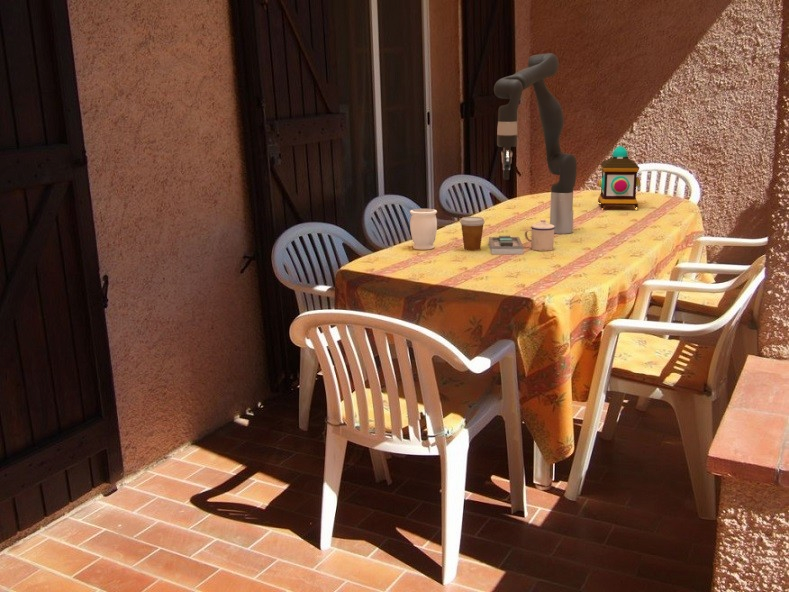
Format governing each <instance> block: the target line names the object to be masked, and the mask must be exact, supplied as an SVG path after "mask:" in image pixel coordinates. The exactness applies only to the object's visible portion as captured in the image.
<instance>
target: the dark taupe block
mask: <svg viewBox="0 0 789 592" xmlns="http://www.w3.org/2000/svg"><path fill="white" fill-rule="evenodd" d="M501 246H513V242H512V241H501Z"/></svg>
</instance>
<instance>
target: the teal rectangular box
mask: <svg viewBox="0 0 789 592" xmlns="http://www.w3.org/2000/svg"><path fill="white" fill-rule="evenodd" d="M501 241H512V239H511V238H500V244H501Z"/></svg>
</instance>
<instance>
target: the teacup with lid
mask: <svg viewBox="0 0 789 592" xmlns="http://www.w3.org/2000/svg"><path fill="white" fill-rule="evenodd" d="M554 229H555V227H554V225H552V224H550V222H548V221H547V220H546V218H542V219H540V221H538V222H536V223H534V224H532V225H531V226H530V228H529V229H526V230H525V231H524V237H525V240H526V241H527V242H529V243H530V249H531V250H533V251H537V250H539V251H538V252H548V251H547V250H549V251H552V250H554V246H555V245H554V244H555V241H554V240H555V233H554ZM528 232H531V236H530V238H531V239H530V238H529V237H528Z"/></svg>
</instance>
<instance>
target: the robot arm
mask: <svg viewBox="0 0 789 592" xmlns="http://www.w3.org/2000/svg"><path fill="white" fill-rule="evenodd" d="M559 62H560V61H559V59H558V57H557V56H556V55H555V54H554V53H551V52H549V53H540V54H534V55H531V56H530V57H529V58H528V60H527V67H524V68H523V69H521V70H519V71H517V72H515V73H514V74H512V75H511V74H510V75H508V76H505V77H502V78H499V79H498V80H497V81H496V82H495V84H494V86H493V93H494V95H495V96H496V97H497V98H499V99H502V100H503V99H505V100H507V99H509V102H508V103H507V104H502V105H500V106H498V107H499V108H498V113H497V114H498V115H497V117H498V118H497V120H498V121H497V130H496V131H497V133H496V134H497V136H496V145H497V147H499V148H500V147H501V148H503V150H501V151H500V152H501V163H502V171H503V172H502V177H503V180H504V181H507V180H508V181H509V179H510V170H511V164H512V158H513V151H512V150H511V148H514V147H517V146H518V108H519V106H520V105H519V104H520V102H521V98H522V95H523V91H524V90H526V89H527V88H529V87H530V86H532V87H533V91H534V94H535V97H536V99H535V100H536V102H537V107H538V115H539V118H540V123H541V127H542V133H543V138H544V144H545V152H546V153H545V154H546V162H547V168H548V171H549V172H550V173H551V174H553V175H554V176H559V178H558V179H559V180H558V181H557V182H556V183H553V184H552V185H551V186H550V211H549V212H550V213H549V224H552V225H554V227H555V229H554V234H557V235H559V234H562V235H563V234H572V233H574V232H573V231H574V210H573V209H574V207H573V205H574V189H575V185H576V181H577V180H576V178H577V171H578V170H577V169H578V167H577V166H578V163H577V159H576V157H575V155H574V154H572V153H563V152H562V149H561V144H560V138H561V136H562V135H561V134H562V131H563V128H564V125H565V119H564V118H565V117H564V111H563V109H562V106H561V103H560V102H559V100H557V98H556V97H555V96H554V95H553V94H552V93H551V91H550V90H549V89H548V86H547V85H546V82H545V80H544V79H547V78H551V77H555V76H556V74H557V72H558V71H559V66H560V64H559Z"/></svg>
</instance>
